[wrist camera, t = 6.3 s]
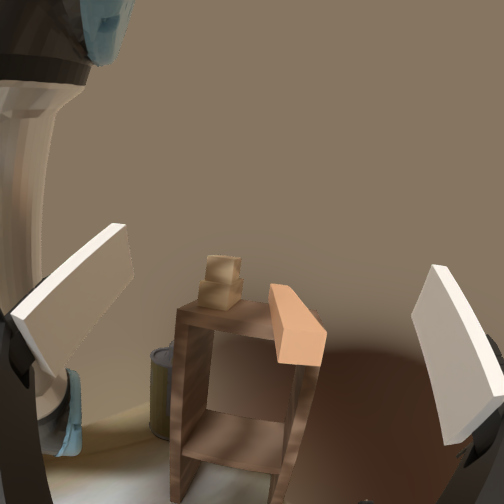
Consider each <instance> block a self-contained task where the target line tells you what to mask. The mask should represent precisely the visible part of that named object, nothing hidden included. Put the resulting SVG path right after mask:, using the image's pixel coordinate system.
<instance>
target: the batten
mask: <svg viewBox="0 0 504 504" xmlns="http://www.w3.org/2000/svg"><path fill="white" fill-rule="evenodd" d="M268 300H269V306H270V313H271V319H272V326H273V332H274V339H275V345H276V352H277V359H278V362H279V363H288V364H298V365H309V366H320V365H321V361H322V356H323V351H324V346H325V341H326V336H327V332H326V331H325V330H324V328H323V327H322V326H321V325H320V323H319V322H318V321H317V320H316V318H315V317H314V316H313V315H312V313H311V312H310V311H309V310H308V308H307V307H306V306H305V305H304V304H303V302H302V301H301V300H300V299H299V297H298V296H297V295H296V294H295V292H294V291H293V290H292V289H291V287H290V286H286V285H279V284H270V291H269V298H268Z"/></svg>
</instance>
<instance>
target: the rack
mask: <svg viewBox="0 0 504 504" xmlns="http://www.w3.org/2000/svg"><path fill="white" fill-rule="evenodd" d="M240 266H241V258H238V257H231V256H224V255H211V256H208V259H207V267H206V275H205V280H201V281H200V286H199V295H198V299H197V300H195V301H193V302H191V303H189V304H187V305H184V306H182V307H180V308H178V309H177V314H176V325H175V337H174V338H175V339H174V351H173V366H172V383H171V407H170V501H171V502H174V503H177V504H180V503H181V501H182V499H183V497H184V495H185V493H186V491H187V489H188V487H189V485H190V483H191V481H192V479H193V477H194V475H195V473H196V471H197V469H198V467H199V465H200V463H201V460H202V461H206V462H211V463H215V464H219V465H224V466H229V467H234V468H239V469H245V470H250V471H257V472H263V473H271V474H272V475H271V482H270V489H269V497H268V504H282V502H283V499H284V496H285V493H286V490H287V487H288V484H289V481H290V478H291V475H292V472H293V469H294V465H295V462H296V459H297V455H298V452H299V448H300V445H301V441H302V438H303V434H304V430H305V427H306V423H307V419H308V415H309V412H310V408H311V403H312V399H313V395H314V391H315V387H316V383H317V378H318V374H319V369H320V366H309V365H298V364H296V370H295V375H294V380H293V385H292V390H291V394H290V399H289V403H288V408H287V413H286V417H285V421H284V423H278V422H270V421H264V420H257V419H252V418H246V417H240V416H235V415H230V414H225V413H221V412H216V411H211V410H207V409H206V405H207V395H208V384H209V375H210V366H211V357H212V348H213V339H214V330H217V331H222V332H228V333H233V334H239V335H245V336H251V337H257V338H264V339H270V340H275V339H274V332H273V326H272V319H271V313H270V306H269V304H268V303H261V302H254V301H248V300H242V299H241V295H242V287H243V280H244V279H241V278H239V274H240ZM308 310H309V311H310V312H311V313H312V315H313V316H314V317H315V318H316V320H317V321H318V322H319V323H320V325H321V326H322V327H323V328H324V326H323V323H322V321H321V319H320V317H319V315H318V312H317V310H311V309H308ZM324 330H325V328H324ZM325 331H326V330H325Z"/></svg>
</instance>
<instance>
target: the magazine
mask: <svg viewBox="0 0 504 504" xmlns="http://www.w3.org/2000/svg"><path fill="white" fill-rule="evenodd" d="M358 504H374V503H373V501H368V500H365V501H360V502H359V503H358Z"/></svg>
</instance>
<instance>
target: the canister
mask: <svg viewBox="0 0 504 504" xmlns="http://www.w3.org/2000/svg"><path fill="white" fill-rule="evenodd" d="M173 351H174V341H172V342H171V343H170V345H169V347H166V348H158V349H156V350H154V351H152V352H151V354H150V357H151V376H150V377H151V378H150V380H151V381H150V423H149V427H150V430H151V431H152V432H153V433H154V434H155V435H156V436H158V437H160V438H162V439H165V440H169V441H170V407H171V383H172V366H173Z"/></svg>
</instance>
